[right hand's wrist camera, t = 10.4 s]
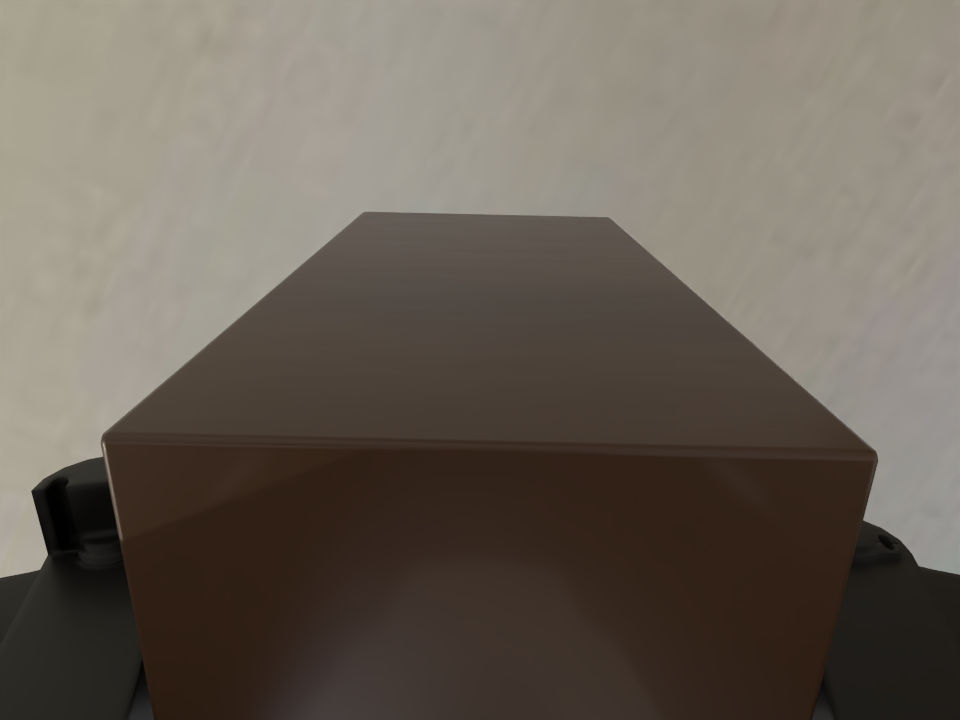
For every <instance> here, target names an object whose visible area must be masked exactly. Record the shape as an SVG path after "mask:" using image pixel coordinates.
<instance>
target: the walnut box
mask: <svg viewBox="0 0 960 720" xmlns="http://www.w3.org/2000/svg"><path fill="white" fill-rule="evenodd" d="M101 447H102V452H103V457H104V462H105V467H106V473H107V478H108V483H109V488H110V493H111V498H112V504H113V509H114V514H115V519H116V524H117V530H118V535H119V540H120V545H121V550H122V555H123V561H124V566H125V571H126V576H127V581H128V587H129V592H130V597H131V602H132V607H133V613H134V618H135V623H136V628H137V633H138V638H139V644H140V649H141V654H142V659H143V664H144V670H145V675H146V680H147V685H148V690H149V695H150V701H151V706H152V711H153V716H154V720H812V717H813V714H814V710H815V706H816V702H817V698H818V694H819V690H820V686H821V682H822V678H823V674H824V670H825V667H826V663H827V659H828V655H829V651H830V647H831V643H832V639H833V635H834V631H835V627H836V623H837V619H838V616H839V612H840V608H841V604H842V600H843V596H844V592H845V588H846V584H847V580H848V576H849V572H850V569H851V565H852V561H853V557H854V553H855V549H856V545H857V541H858V537H859V533H860V529H861V525H862V522H863V518H864V514H865V510H866V506H867V502H868V498H869V494H870V490H871V486H872V482H873V478H874V474H875V471H876V467H877V463H878V457H877V453H876V451H875V450H874V449H872V448H871V447H870V446H869V445H868V444H867V443H866V442H864V441H863V440H862V439H861V438H860V437H859V436H858V435H856V434H855V433H854V432H853V431H852V430H851V429H850V428H848V427H847V426H846V425H845V424H844V423H843V422H842V421H840V420H839V419H838V418H837V417H836V416H835V415H834V414H833V413H831V412H830V411H829V410H828V409H827V408H826V407H825V406H823V405H822V404H821V403H820V402H819V401H818V400H817V399H815V398H814V397H813V396H812V395H811V394H810V393H809V392H807V391H806V390H805V389H804V388H803V387H802V386H801V385H799V384H798V383H797V382H796V381H795V380H794V379H793V378H791V377H790V376H789V375H788V374H787V373H786V372H785V371H783V370H782V369H781V368H780V367H779V366H778V365H777V364H775V363H774V362H773V361H772V360H771V359H770V358H769V357H767V356H766V355H765V354H764V353H763V352H762V351H761V350H760V349H758V348H757V347H756V346H755V345H754V344H753V343H752V342H750V341H749V340H748V339H747V338H746V337H745V336H744V335H742V334H741V333H740V332H739V331H738V330H737V329H736V328H734V327H733V326H732V325H731V324H730V323H729V322H728V321H726V320H725V319H724V318H723V317H722V316H721V315H720V314H718V313H717V312H716V311H715V310H714V309H713V308H712V307H710V306H709V305H708V304H707V303H706V302H705V301H704V300H702V299H701V298H700V297H699V296H698V295H697V294H696V293H694V292H693V291H692V290H691V289H690V288H689V287H688V286H687V285H685V284H684V283H683V282H682V281H681V280H680V279H679V278H677V277H676V276H675V275H674V274H673V273H672V272H671V271H669V270H668V269H667V268H666V267H665V266H664V265H663V264H661V263H660V262H659V261H658V260H657V259H656V258H655V257H653V256H652V255H651V254H650V253H649V252H648V251H647V250H645V249H644V248H643V247H642V246H641V245H640V244H639V243H637V242H636V241H635V240H634V239H633V238H632V237H631V236H629V235H628V234H627V233H626V232H625V231H624V230H623V229H621V228H620V227H619V226H618V225H617V224H616V223H615V222H614V221H612V220H611V219H610V218H608V217H564V216H521V215H478V214H435V213H392V212H364V213H362V214H361V215H360V216H359V217H358V218H356V219H355V220H354V221H353V222H352V223H350V224H349V225H348V226H347V227H346V228H345V229H343V230H342V231H341V232H340V233H339V234H338V235H336V236H335V237H334V238H333V239H332V240H330V241H329V242H328V243H327V244H326V245H325V246H323V247H322V248H321V249H320V250H319V251H318V252H316V253H315V254H314V255H313V256H312V257H310V258H309V259H308V260H307V261H306V262H305V263H303V264H302V265H301V266H300V267H299V268H298V269H296V270H295V271H294V272H293V273H292V274H291V275H289V276H288V277H287V278H286V279H285V280H283V281H282V282H281V283H280V284H279V285H278V286H276V287H275V288H274V289H273V290H272V291H271V292H269V293H268V294H267V295H266V296H265V297H263V298H262V299H261V300H260V301H259V302H258V303H256V304H255V305H254V306H253V307H252V308H251V309H249V310H248V311H247V312H246V313H245V314H243V315H242V316H241V317H240V318H239V319H238V320H236V321H235V322H234V323H233V324H232V325H231V326H229V327H228V328H227V329H226V330H225V331H224V332H222V333H221V334H220V335H219V336H218V337H216V338H215V339H214V340H213V341H212V342H211V343H209V344H208V345H207V346H206V347H205V348H204V349H202V350H201V351H200V352H199V353H198V354H196V355H195V356H194V357H193V358H192V359H191V360H189V361H188V362H187V363H186V364H185V365H184V366H182V367H181V368H180V369H179V370H178V371H176V372H175V373H174V374H173V375H172V376H171V377H169V378H168V379H167V380H166V381H165V382H164V383H162V384H161V385H160V386H159V387H158V388H157V389H155V390H154V391H153V392H152V393H151V394H149V395H148V396H147V397H146V398H145V399H144V400H142V401H141V402H140V403H139V404H138V405H137V406H135V407H134V408H133V409H132V410H131V411H129V412H128V413H127V414H126V415H125V416H124V417H122V418H121V419H120V420H119V421H118V422H117V423H115V424H114V425H113V426H112V427H111V428H109V429H108V430H107V431H106V432H105V433H104V434H103V436H102V439H101Z"/></svg>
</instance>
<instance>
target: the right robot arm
mask: <svg viewBox="0 0 960 720" xmlns="http://www.w3.org/2000/svg"><path fill="white" fill-rule="evenodd" d="M31 492H32V495H33V499H34V503H35V507H36V510H37V514H38V518H39V522H40V525H41V529H42V533H43V537H44V540H45V544H46V548H47V552H48V556H47V558H46V560H45V562H44V564H43V566H42V568H41V569H40V570H38V571H34V572H30V573H24V574H19V575H14V576H9V577H3V578H0V720H154V716H153V711H152V706H151V701H150V695H149V690H148V685H147V680H146V675H145V670H144V664H143V659H142V654H141V649H140V644H139V638H138V633H137V628H136V623H135V618H134V613H133V607H132V602H131V597H130V592H129V587H128V581H127V576H126V571H125V566H124V561H123V555H122V550H121V545H120V540H119V535H118V530H117V524H116V519H115V514H114V509H113V504H112V498H111V493H110V488H109V483H108V478H107V473H106V467H105V462H104V457H100V458H94V459H89V460H86V461H83V462H80V463H77V464H74V465H71V466H68V467H65V468H63V469H61V470H59V471H57V472H56V473H54V474H52V475H50V476H48V477H46V478H45V479H43V480H42V481H41V482H40V483H39V484H38V485H37V486H36V487H35V488H34V489H33V490H32V491H31ZM812 720H960V575H958V574H953V573H948V572H942V571H937V570H932V569H928V568H924V567H920V566H918V564H917V563H916V561H915V559H914V557H913V555H912V554H911V552H910V551H909V550H908V549H907V548H906V547H905V545H904V544H903V543H902V542H901V541H900V540H899V539H897V538H896V537H894V536H893V535H891V534H890V533H888V532H887V531H885V530H883V529H882V528H880V527H877V526H875V525H872V524H870V523H868V522H865V521H863V522H862V525H861V529H860V533H859V537H858V541H857V545H856V549H855V553H854V557H853V561H852V565H851V569H850V572H849V576H848V580H847V584H846V588H845V592H844V596H843V600H842V604H841V608H840V612H839V616H838V619H837V623H836V627H835V631H834V635H833V639H832V643H831V647H830V651H829V655H828V659H827V663H826V667H825V670H824V674H823V678H822V682H821V686H820V690H819V694H818V698H817V702H816V706H815V710H814V714H813V717H812Z"/></svg>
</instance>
